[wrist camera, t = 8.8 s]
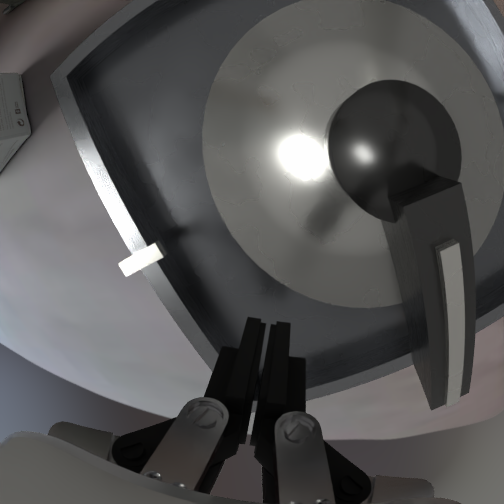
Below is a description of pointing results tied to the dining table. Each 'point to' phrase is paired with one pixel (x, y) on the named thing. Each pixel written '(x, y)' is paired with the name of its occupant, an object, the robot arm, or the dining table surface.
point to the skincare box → (12, 116)
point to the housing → (198, 191)
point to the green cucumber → (11, 4)
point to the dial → (362, 168)
